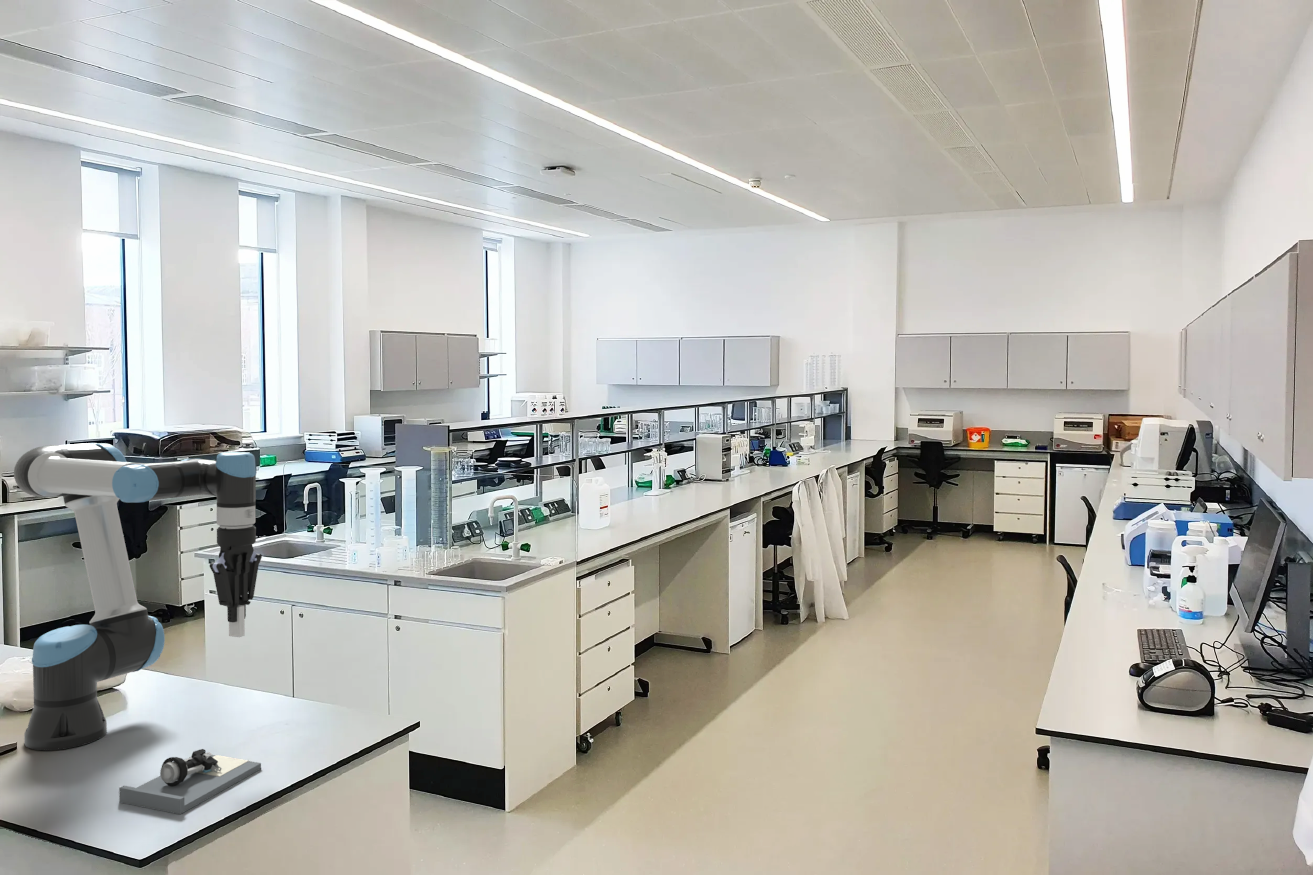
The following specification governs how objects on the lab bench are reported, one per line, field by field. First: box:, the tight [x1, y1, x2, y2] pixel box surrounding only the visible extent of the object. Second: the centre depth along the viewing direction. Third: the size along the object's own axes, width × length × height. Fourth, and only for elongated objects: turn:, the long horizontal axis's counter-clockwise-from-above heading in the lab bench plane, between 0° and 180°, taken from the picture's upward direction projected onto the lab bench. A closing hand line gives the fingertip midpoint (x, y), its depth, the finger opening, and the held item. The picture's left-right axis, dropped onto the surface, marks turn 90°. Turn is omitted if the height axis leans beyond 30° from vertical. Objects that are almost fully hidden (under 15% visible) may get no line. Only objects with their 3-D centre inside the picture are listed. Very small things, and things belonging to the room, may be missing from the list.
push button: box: [159, 748, 222, 786], centre depth 180 cm, size 7×5×10 cm
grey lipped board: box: [118, 754, 262, 815], centre depth 180 cm, size 14×21×3 cm, turn 163°
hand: (236, 635), depth 197 cm, fingers closed
